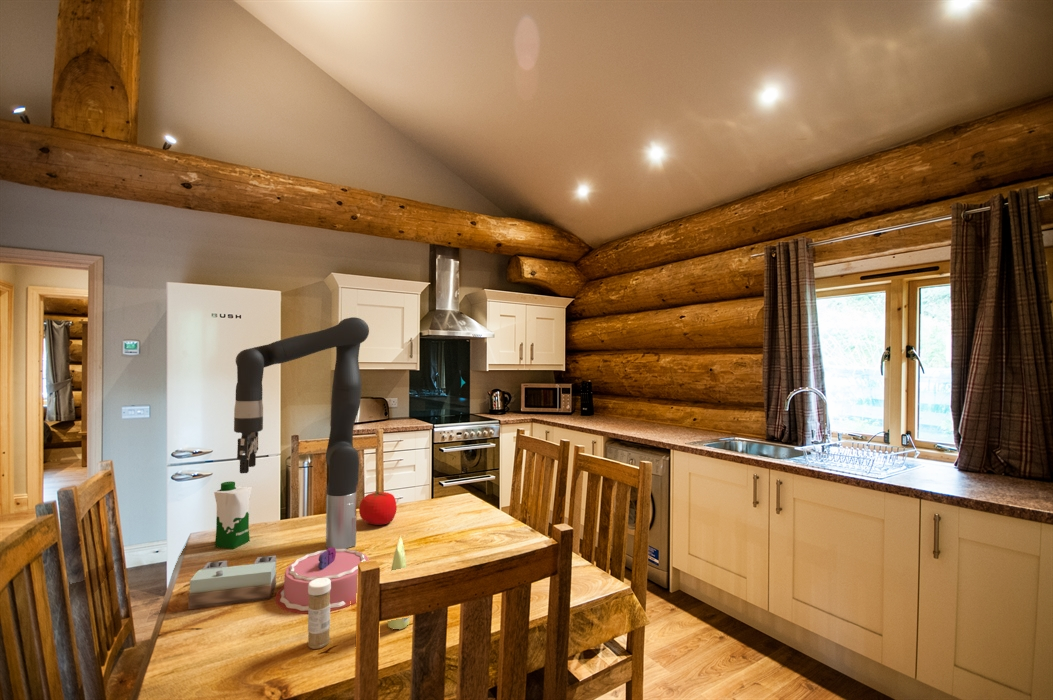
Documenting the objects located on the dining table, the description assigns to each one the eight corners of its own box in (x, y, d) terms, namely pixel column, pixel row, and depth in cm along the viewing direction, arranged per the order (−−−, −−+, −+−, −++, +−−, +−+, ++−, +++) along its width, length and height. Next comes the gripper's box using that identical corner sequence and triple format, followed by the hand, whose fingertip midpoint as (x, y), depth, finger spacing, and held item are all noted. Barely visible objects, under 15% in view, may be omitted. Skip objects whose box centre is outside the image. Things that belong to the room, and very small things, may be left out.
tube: (381, 624, 113) (382, 540, 114) (399, 615, 117) (400, 534, 117) (395, 633, 110) (397, 546, 110) (414, 624, 114) (415, 540, 114)
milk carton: (231, 538, 165) (232, 479, 165) (254, 540, 163) (255, 480, 163) (209, 548, 156) (210, 486, 156) (233, 550, 154) (235, 487, 155)
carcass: (277, 581, 134) (278, 554, 134) (269, 599, 124) (270, 570, 124) (202, 589, 129) (203, 562, 129) (188, 609, 119) (188, 579, 119)
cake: (312, 566, 144) (312, 530, 144) (391, 573, 141) (392, 536, 141) (252, 610, 120) (253, 566, 120) (347, 619, 116) (347, 574, 116)
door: (278, 566, 135) (278, 551, 135) (270, 584, 125) (271, 568, 125) (204, 574, 130) (204, 559, 130) (189, 593, 120) (190, 576, 120)
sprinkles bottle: (324, 635, 109) (325, 575, 109) (333, 643, 106) (334, 581, 106) (303, 643, 105) (304, 581, 106) (312, 652, 102) (313, 588, 102)
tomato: (402, 518, 186) (403, 488, 186) (384, 531, 173) (385, 498, 173) (372, 515, 189) (373, 485, 189) (352, 528, 176) (353, 495, 176)
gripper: (257, 418, 140) (256, 474, 139) (267, 412, 153) (266, 463, 153) (227, 418, 137) (226, 476, 137) (240, 413, 151) (240, 465, 151)
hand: (247, 469), depth 145 cm, fingers open, 8 cm apart
